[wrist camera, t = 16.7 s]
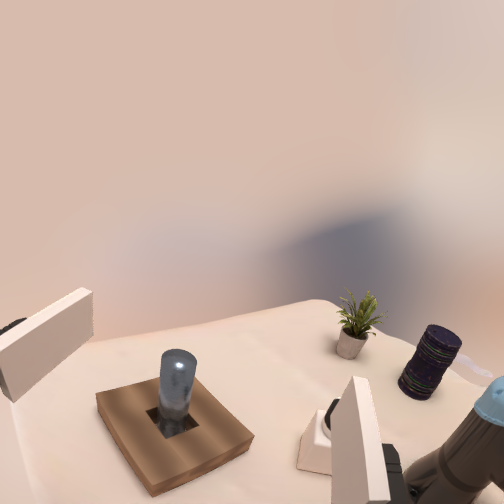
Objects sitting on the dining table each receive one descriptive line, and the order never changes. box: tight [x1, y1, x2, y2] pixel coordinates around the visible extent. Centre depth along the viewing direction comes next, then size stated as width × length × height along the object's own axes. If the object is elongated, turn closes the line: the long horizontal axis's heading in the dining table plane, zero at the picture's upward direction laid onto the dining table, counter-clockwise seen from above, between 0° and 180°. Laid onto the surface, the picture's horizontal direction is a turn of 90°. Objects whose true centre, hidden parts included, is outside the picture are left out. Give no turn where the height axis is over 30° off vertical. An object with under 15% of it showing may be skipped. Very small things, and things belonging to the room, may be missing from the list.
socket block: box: [96, 377, 255, 497], centre depth 35 cm, size 16×16×4 cm
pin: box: [157, 349, 197, 439], centre depth 33 cm, size 4×4×15 cm
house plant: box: [336, 291, 386, 359], centre depth 66 cm, size 14×14×16 cm
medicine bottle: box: [297, 396, 342, 475], centre depth 35 cm, size 7×7×12 cm
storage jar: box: [398, 325, 462, 401], centre depth 55 cm, size 10×10×15 cm
